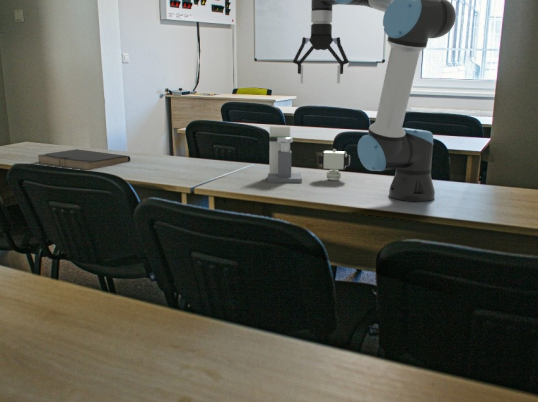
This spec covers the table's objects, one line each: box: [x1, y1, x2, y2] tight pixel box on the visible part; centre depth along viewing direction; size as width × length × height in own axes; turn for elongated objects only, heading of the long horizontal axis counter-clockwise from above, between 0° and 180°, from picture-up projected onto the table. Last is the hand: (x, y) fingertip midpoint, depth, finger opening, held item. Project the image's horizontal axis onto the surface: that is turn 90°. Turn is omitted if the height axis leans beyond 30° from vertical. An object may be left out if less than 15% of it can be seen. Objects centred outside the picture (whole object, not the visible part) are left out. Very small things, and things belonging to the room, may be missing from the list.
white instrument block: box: [268, 136, 294, 152], centre depth 221 cm, size 9×6×11 cm
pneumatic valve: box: [317, 148, 351, 182], centre depth 223 cm, size 6×12×12 cm, turn 78°
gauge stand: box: [266, 125, 303, 184], centre depth 221 cm, size 13×11×20 cm
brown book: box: [37, 149, 131, 171], centre depth 259 cm, size 33×4×24 cm
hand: (320, 83), depth 214 cm, fingers open, 13 cm apart
